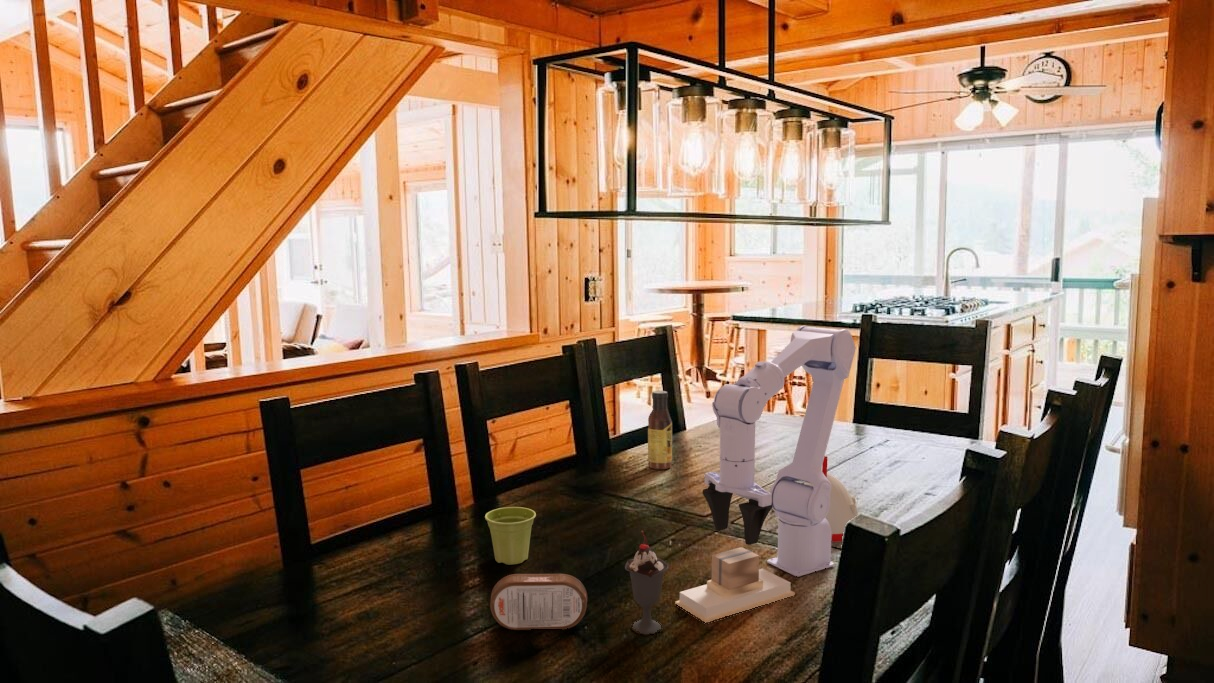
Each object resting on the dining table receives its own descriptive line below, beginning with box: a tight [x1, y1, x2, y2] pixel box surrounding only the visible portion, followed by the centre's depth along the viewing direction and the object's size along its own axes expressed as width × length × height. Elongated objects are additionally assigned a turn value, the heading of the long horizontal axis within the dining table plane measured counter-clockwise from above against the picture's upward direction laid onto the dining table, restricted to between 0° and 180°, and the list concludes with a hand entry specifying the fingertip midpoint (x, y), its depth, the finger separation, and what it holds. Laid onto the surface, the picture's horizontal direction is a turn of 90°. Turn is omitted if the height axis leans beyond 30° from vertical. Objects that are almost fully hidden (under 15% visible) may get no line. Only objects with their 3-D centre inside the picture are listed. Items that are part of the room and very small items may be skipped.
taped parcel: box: [706, 546, 763, 598], centre depth 137 cm, size 8×5×6 cm, turn 122°
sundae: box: [624, 530, 670, 634], centre depth 128 cm, size 7×7×15 cm
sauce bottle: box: [647, 390, 673, 470], centre depth 215 cm, size 6×6×20 cm
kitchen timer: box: [803, 455, 859, 543], centre depth 170 cm, size 14×14×15 cm
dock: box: [674, 568, 796, 624], centre depth 138 cm, size 8×19×2 cm, turn 122°
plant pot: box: [484, 506, 537, 566], centre depth 156 cm, size 9×9×9 cm
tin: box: [489, 573, 588, 631], centre depth 129 cm, size 15×3×8 cm, turn 92°
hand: (736, 536), depth 139 cm, fingers open, 7 cm apart
